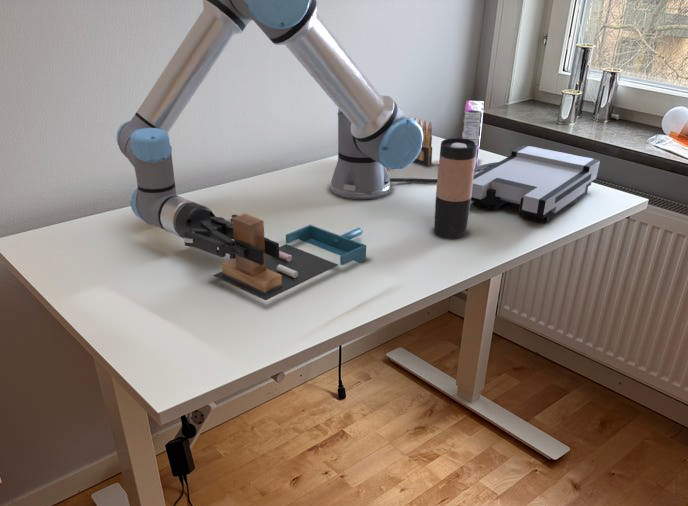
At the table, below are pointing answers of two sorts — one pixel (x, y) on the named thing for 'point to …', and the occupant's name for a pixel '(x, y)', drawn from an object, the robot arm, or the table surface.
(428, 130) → the ammunition clip
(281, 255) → the chalk
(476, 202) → the game console
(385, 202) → the table surface
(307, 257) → the chalkboard
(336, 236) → the dustpan
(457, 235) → the travel mug
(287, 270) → the chalk
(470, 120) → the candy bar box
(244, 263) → the wooden block on base
